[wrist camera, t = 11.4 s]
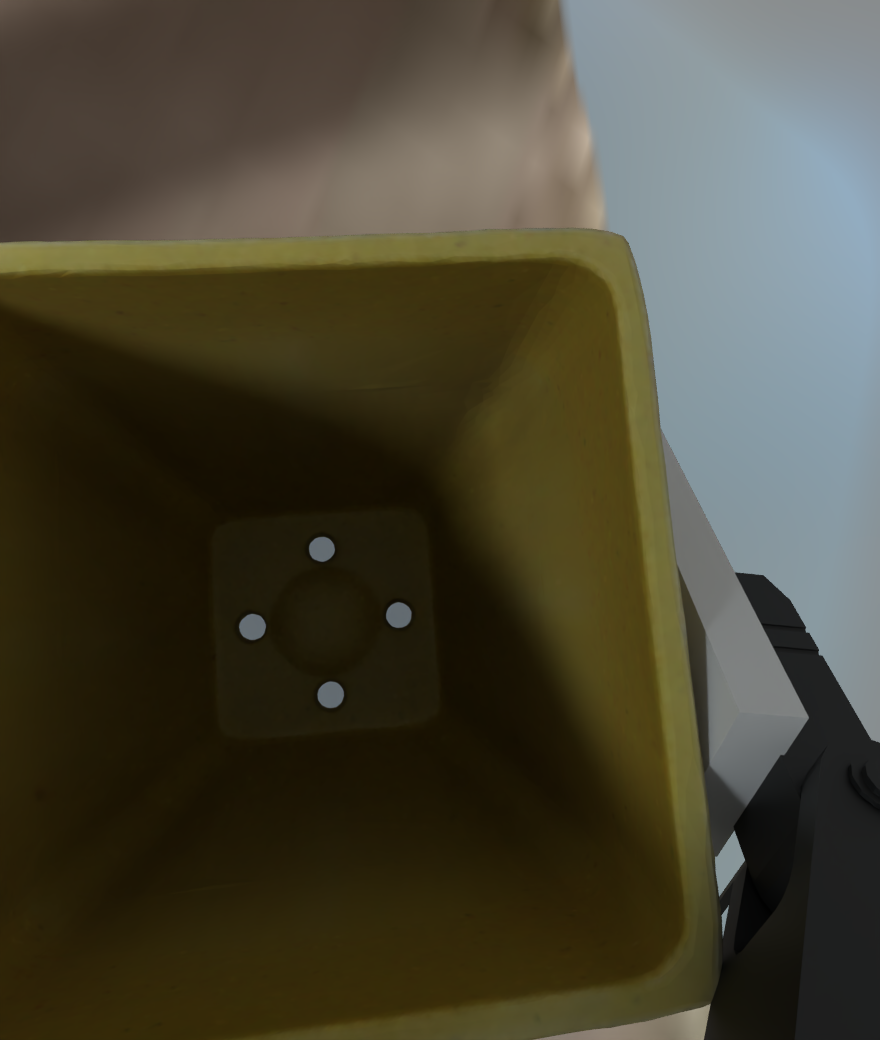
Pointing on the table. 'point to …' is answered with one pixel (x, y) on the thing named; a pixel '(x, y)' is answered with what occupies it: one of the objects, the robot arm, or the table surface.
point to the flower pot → (342, 644)
